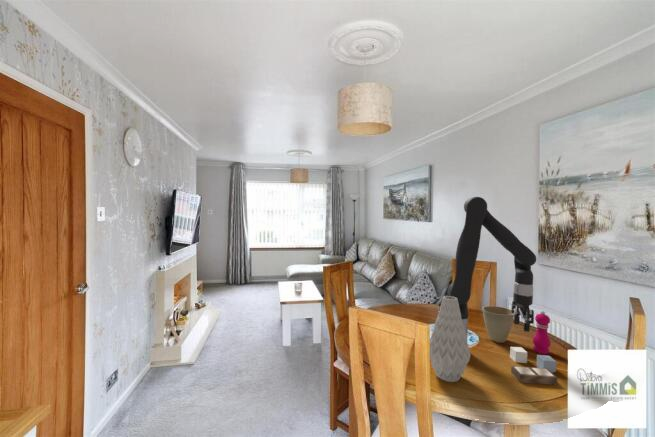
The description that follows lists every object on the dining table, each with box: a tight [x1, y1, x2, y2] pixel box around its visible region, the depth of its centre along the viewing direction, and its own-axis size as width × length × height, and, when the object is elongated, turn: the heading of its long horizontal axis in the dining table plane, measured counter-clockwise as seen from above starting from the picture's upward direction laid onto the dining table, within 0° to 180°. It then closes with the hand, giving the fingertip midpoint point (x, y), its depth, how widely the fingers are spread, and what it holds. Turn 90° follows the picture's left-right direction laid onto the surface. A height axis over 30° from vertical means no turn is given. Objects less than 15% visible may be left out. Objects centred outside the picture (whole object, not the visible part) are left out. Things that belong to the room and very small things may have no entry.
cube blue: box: [536, 354, 557, 373], centre depth 134 cm, size 5×5×5 cm
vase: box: [429, 295, 471, 383], centre depth 126 cm, size 17×17×33 cm
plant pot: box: [482, 305, 514, 343], centre depth 163 cm, size 15×15×16 cm
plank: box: [510, 365, 558, 385], centre depth 126 cm, size 14×7×3 cm, turn 84°
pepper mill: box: [532, 310, 552, 355], centre depth 151 cm, size 7×7×20 cm
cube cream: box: [509, 346, 528, 364], centre depth 142 cm, size 5×5×5 cm
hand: (521, 327), depth 142 cm, fingers open, 8 cm apart
